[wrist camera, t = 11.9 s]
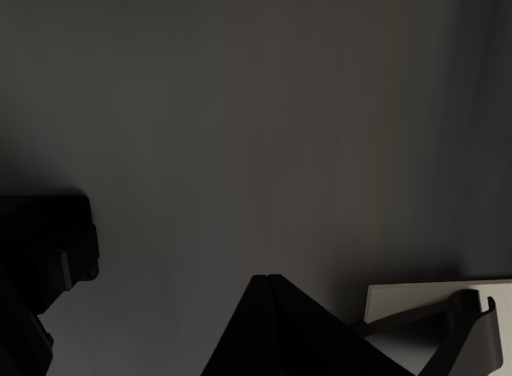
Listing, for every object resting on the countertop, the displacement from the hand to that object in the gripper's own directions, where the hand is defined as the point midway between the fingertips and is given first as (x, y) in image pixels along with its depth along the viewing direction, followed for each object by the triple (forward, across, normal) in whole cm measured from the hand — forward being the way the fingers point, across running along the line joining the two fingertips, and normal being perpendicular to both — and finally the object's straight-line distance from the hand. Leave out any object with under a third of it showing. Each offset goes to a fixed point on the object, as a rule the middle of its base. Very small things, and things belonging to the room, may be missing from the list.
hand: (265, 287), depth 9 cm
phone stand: (+8, -10, +16) cm, 21 cm away
